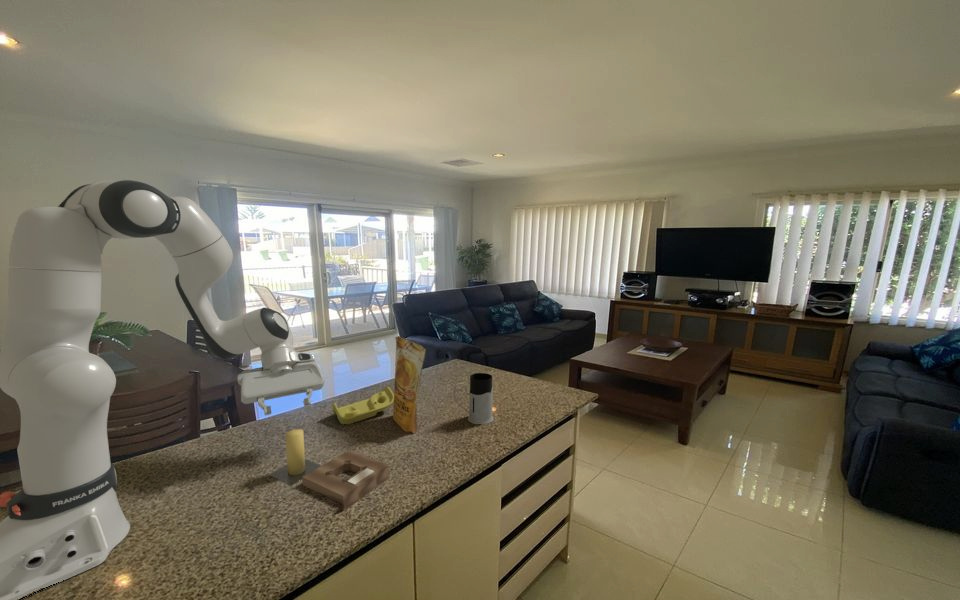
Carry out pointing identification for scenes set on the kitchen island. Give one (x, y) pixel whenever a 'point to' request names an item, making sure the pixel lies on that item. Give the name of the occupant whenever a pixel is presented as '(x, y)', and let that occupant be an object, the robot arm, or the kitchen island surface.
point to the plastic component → (364, 407)
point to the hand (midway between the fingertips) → (288, 409)
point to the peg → (295, 452)
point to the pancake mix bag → (407, 382)
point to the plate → (293, 479)
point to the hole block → (348, 488)
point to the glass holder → (479, 398)
